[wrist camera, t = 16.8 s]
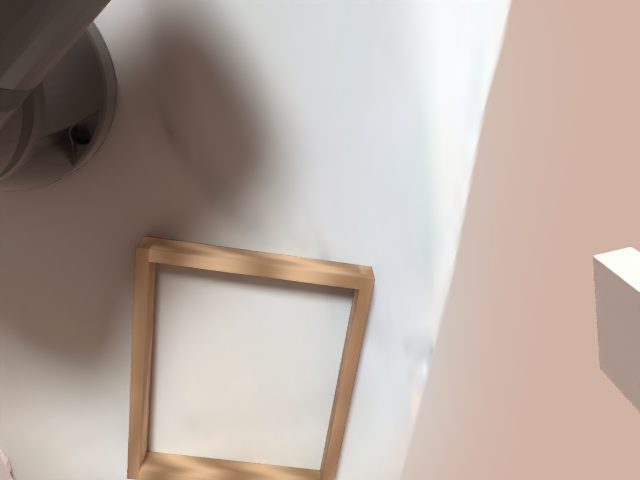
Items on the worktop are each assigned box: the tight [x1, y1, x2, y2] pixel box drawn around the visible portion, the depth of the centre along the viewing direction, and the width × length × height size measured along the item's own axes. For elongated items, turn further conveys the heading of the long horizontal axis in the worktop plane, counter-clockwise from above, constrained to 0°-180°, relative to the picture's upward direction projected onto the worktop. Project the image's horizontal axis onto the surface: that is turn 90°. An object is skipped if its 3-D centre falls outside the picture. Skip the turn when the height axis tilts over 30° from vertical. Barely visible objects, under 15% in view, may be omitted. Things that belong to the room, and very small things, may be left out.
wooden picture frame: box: [127, 236, 375, 480], centre depth 47 cm, size 18×22×2 cm
